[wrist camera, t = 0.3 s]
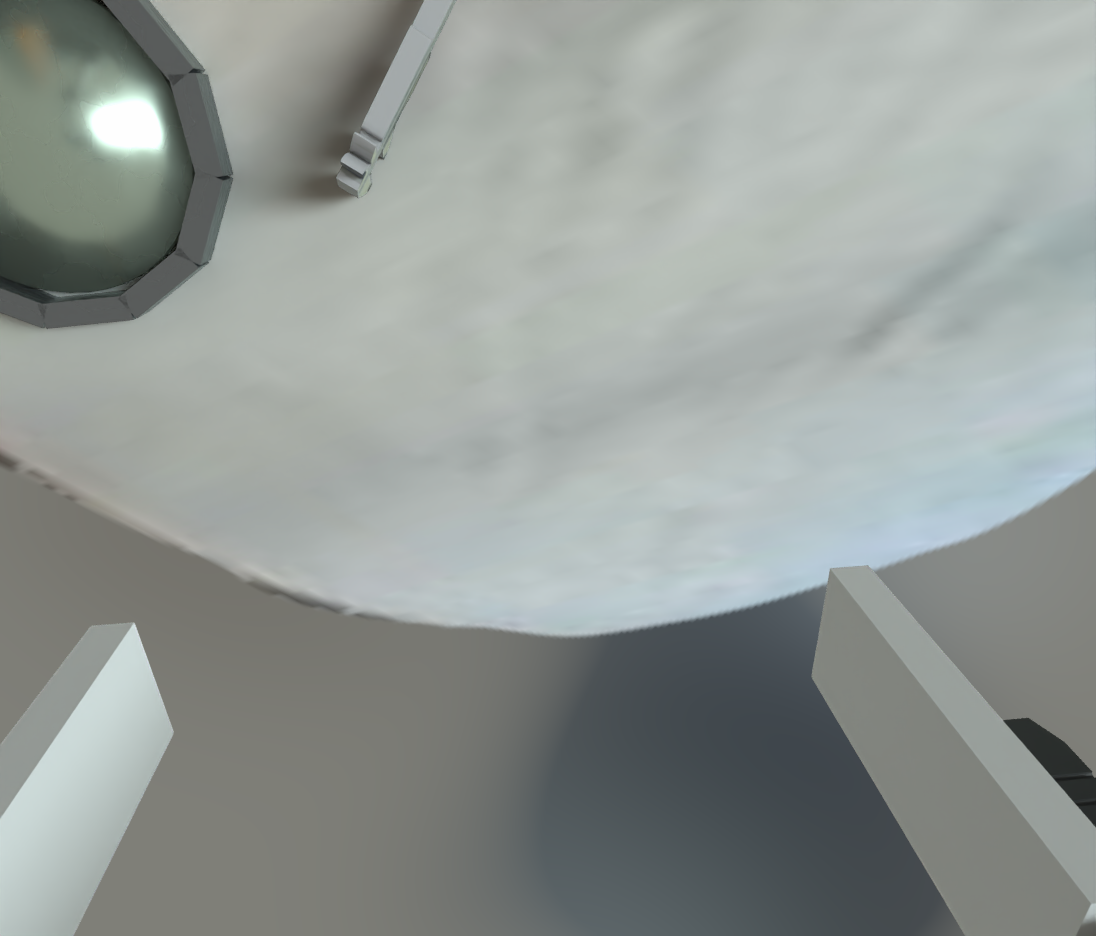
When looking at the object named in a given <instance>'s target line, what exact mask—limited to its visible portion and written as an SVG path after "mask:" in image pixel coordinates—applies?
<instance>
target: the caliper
mask: <svg viewBox="0 0 1096 936" xmlns="http://www.w3.org/2000/svg"><path fill="white" fill-rule="evenodd" d="M455 2H456V0H424V2H423V4H422V6H421V8H420V10H419V12H418V14H417V16H416V18H415V20H414V22H413V24H412V25H410V27H409V29H408V31H407V34H406V36H405V38H404V40H403V42H402V44H401V46H400V48H399V50H398V52H397V54H396V56H395V58H394V60H393V62H392V64H391V66H390V68H389V70H388V72H387V74H386V76H385V78H384V80H383V82H382V85H381V87H380V89H379V91H378V93H377V95H376V97H375V99H374V101H373V103H372V105H371V107H370V109H369V111H368V113H367V115H366V117H365V119H364V121H363V123H362V126H361V131H360V133H359V134H358V133H357V132H354V134H353V137H352V141H351V145H350V153H346V154H345V155H344V156H343V157H342V159H341V161H340V162H341V164H342V167H341V169H340V171H339V173H338V175H337V177H336V180H337V183H338V186H339V187H340V188H342V189H343V190H345V191H347V192H349V193H350V194H352V195H354V196H355V197H357V198H360V197H362V196H364V195H365V194H367V192H368V191H369V189H370V187H371V185H372V179H371V171H372V169H373V167H374V165H375V163H376V161H377V159H378V157H381V158H383V159H384V158H385V156H386V154H387V152H388V150H389V147H390V143H391V140H392V136H393V133H394V129H395V125H396V123H397V121H398V119H399V117H400V115H401V113H402V111H403V109H404V107H405V106H406V104H407V102H408V100H409V98H410V96H411V94H412V92H413V91H414V88H415V86H416V84H417V82H418V80H419V78H420V76H421V74H422V72H423V70H424V68H425V66H426V64H427V62H428V60H429V58H430V54H431V51H432V48H433V46H434V44H435V42H436V40H437V38H438V36H439V34H440V32H441V30H442V28H443V26H444V24H445V22H446V20H447V18H448V16H449V14H450V12H451V10H452V8H453V6H454V4H455Z"/></svg>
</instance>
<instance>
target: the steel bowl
mask: <svg viewBox="0 0 1096 936" xmlns="http://www.w3.org/2000/svg"><path fill="white" fill-rule="evenodd" d="M102 1H103V2H104V3H105V4H106V5H107V7H108V8H109V9H110V10H111V11H112V12H111V11H110V10H108V9H107V8H106V7H104V6H103V5H101V4H100V3H99V2H97V1H96V0H0V312H1V313H3V314H6V315H9V316H12V317H14V318H17V319H20V320H22V321H25V322H28V323H30V324H33V325H36V326H39V327H41V328H44V327H46V328H47V329H48V328H58V327H68V326H78V325H88V324H98V323H108V322H117V321H127V320H134V319H136V318H139V317H140V316H142V315H144V314H145V313H147V312H149V311H150V310H152V309H153V308H154V307H155V306H156V305H158V304H159V303H160V302H161V301H163V300H164V299H165V298H166V297H167V296H169V295H170V294H171V293H172V292H174V291H175V290H176V289H177V288H178V287H180V286H181V285H182V284H183V283H185V282H186V281H187V280H188V279H190V278H191V277H192V276H193V275H194V274H196V273H197V272H198V271H199V270H201V269H202V268H203V267H204V266H205V265H207V264H208V263H209V262H208V261H209V260H211V257H212V254H213V250H214V246H215V243H216V239H217V235H218V232H219V228H220V224H221V221H222V217H223V213H224V210H225V206H226V202H227V199H228V195H229V191H230V188H231V184H232V180H233V178H231V177H229V176H227V175H231V174H233V172H232V168H231V164H230V160H229V156H228V152H227V148H226V144H225V141H224V137H223V133H222V129H221V125H220V121H219V117H218V113H217V109H216V106H215V102H214V98H213V94H212V90H211V86H210V82H209V78H208V75H206V74H202V73H203V72H204V71H205V69H204V68H203V67H202V66H201V64H200V63H199V62H198V61H197V59H196V58H195V57H194V56H193V54H192V53H191V52H190V51H189V50H188V48H187V47H186V46H185V45H184V43H183V42H182V41H181V40H180V38H179V37H178V36H177V35H176V33H175V32H174V31H173V30H172V28H171V27H170V26H169V25H168V23H167V22H166V21H165V20H164V19H163V17H162V16H161V15H160V14H159V12H158V11H157V10H156V9H155V7H154V6H153V5H152V4H151V2H150V1H149V0H102ZM177 241H178V244H177V248H176V250H175V251H174V252H173V253H172V254H171V255H169V256H168V257H167V258H166V259H165V260H163V261H162V262H161V263H160V264H159V265H157V264H158V263H159V262H160V261H161V260H162V259H163V258H164V257H165V256H166V255H167V254H168V253H169V252H170V251H171V249H172V248H173V247H174V245H175V244H176V243H177ZM156 265H157V266H156ZM154 266H156V267H155V268H154V269H152V270H151V271H150V272H149V273H148V274H146V275H145V276H144V277H143V278H142V279H140V280H139V281H138V282H137V283H136V284H134V285H133V286H132V287H131V288H130V289H128V290H126V291H116V292H106V293H95V294H85V295H75V296H65V297H56V296H54V295H51V294H49V293H46V292H43V291H41V290H38V289H36V288H39V289H44V290H49V291H57V292H69V293H74V292H92V291H98V290H104V289H108V288H111V287H115V286H118V285H121V284H124V283H126V282H128V281H130V280H132V279H134V278H136V277H138V276H140V275H142V274H144V273H146V272H147V271H148V270H150V269H151V268H153V267H154ZM33 287H34V288H33Z"/></svg>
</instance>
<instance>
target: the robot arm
mask: <svg viewBox="0 0 1096 936" xmlns="http://www.w3.org/2000/svg"><path fill="white" fill-rule="evenodd" d="M812 679H813V680H814V682H815V684H816V685H817V687H818V689H819V690H820V692H821V694H822V695H823V697H824V699H825V700H826V702H827V704H828V706H829V707H830V709H831V711H832V712H833V714H834V715H835V717H836V719H837V721H838V722H839V724H840V726H841V727H842V729H843V731H844V732H845V734H846V736H847V737H848V739H849V741H850V743H851V744H852V746H853V748H854V749H855V751H856V753H857V754H858V756H859V758H860V759H861V761H862V763H863V764H864V766H865V768H866V769H867V771H868V773H869V775H870V776H871V778H872V780H873V781H874V783H875V785H876V786H877V788H878V790H879V791H880V793H881V795H882V796H883V798H884V800H885V801H886V803H887V804H888V806H889V808H890V810H891V811H892V813H893V815H894V817H895V818H896V820H897V822H898V823H899V825H900V827H901V828H902V830H903V832H904V833H905V835H906V837H907V838H908V840H909V842H910V843H911V845H912V847H913V848H914V850H915V852H916V853H917V855H918V857H919V859H920V860H921V862H922V864H923V865H924V867H925V869H926V870H927V872H928V874H929V875H930V877H931V879H932V880H933V882H934V884H935V885H936V887H937V889H938V891H939V892H940V894H941V896H942V897H943V899H944V901H945V902H946V904H947V906H948V907H949V909H950V911H951V913H952V914H953V916H954V918H955V919H956V921H957V923H958V924H959V926H960V927H961V929H962V931H963V933H964V934H965V936H1096V778H1094V777H1093V775H1092V771H1091V770H1090V769H1089V768H1088V767H1087V766H1086V765H1085V764H1084V762H1082V760H1081V759H1080V758H1079V757H1078V756H1077V755H1076V754H1075V753H1074V752H1073V751H1072V750H1071V749H1070V748H1069V746H1068V745H1067V744H1066V743H1065V742H1063V741H1062V740H1060V739H1059V738H1057V737H1056V736H1055V735H1053V734H1052V733H1050V732H1049V731H1047V730H1046V729H1044V728H1042V727H1041V726H1040V725H1038V724H1037V723H1035V722H1034V721H1032V720H1031V719H1029V718H1022V719H1011V720H1002V719H1001V718H1000V717H999V716H998V714H997V713H996V712H995V711H994V710H993V709H992V707H991V706H990V705H989V704H988V703H987V702H986V701H985V699H984V698H982V696H981V695H980V694H979V693H978V691H977V690H976V689H975V688H974V687H973V686H972V684H971V683H970V682H969V681H968V680H967V679H966V678H965V676H964V675H963V674H962V673H961V672H960V671H959V669H958V668H957V667H956V666H955V665H954V664H953V663H952V662H951V660H950V659H949V658H948V657H947V656H946V654H945V653H944V652H943V651H942V650H941V649H940V648H939V646H938V645H937V644H936V643H935V642H934V641H933V639H932V638H931V637H930V636H929V635H928V634H927V633H926V632H925V630H924V629H923V628H922V627H921V626H920V625H919V623H918V622H917V621H916V620H915V619H914V618H913V616H912V615H911V614H910V613H909V612H908V611H907V610H906V608H905V607H904V606H903V605H902V604H901V603H900V601H899V600H898V599H897V598H896V597H895V596H894V595H893V593H891V591H890V590H889V589H888V588H887V587H886V585H885V584H884V583H883V582H882V581H881V580H880V578H879V577H878V576H877V575H876V574H875V573H874V572H873V570H872V569H871V568H870V567H869V566H855V567H842V568H830V572H829V578H828V584H827V590H826V596H825V601H824V607H823V613H822V619H821V625H820V630H819V637H818V642H817V648H816V654H815V660H814V665H813V671H812ZM173 734H174V732H173V729H172V726H171V723H170V720H169V718H168V715H167V712H166V709H165V707H164V704H163V701H162V698H161V695H160V693H159V690H158V687H157V685H156V682H155V679H154V676H153V674H152V671H151V668H150V665H149V662H148V659H147V657H146V654H145V651H144V648H143V645H142V643H141V640H140V637H139V635H138V632H137V629H136V626H135V623H121V624H110V625H97V626H96V625H95V626H90V628H89V629H88V630H87V632H86V633H85V634H84V636H83V637H82V638H81V640H80V641H79V642H78V644H77V645H76V646H75V647H74V649H73V650H72V651H71V653H70V654H69V655H68V657H67V658H66V659H65V661H64V662H63V663H62V664H61V666H60V667H59V668H58V670H57V671H56V672H55V674H54V675H53V676H52V678H51V679H50V680H49V681H48V683H47V684H46V685H45V687H44V688H43V689H42V691H41V692H40V693H39V695H38V696H37V697H36V698H35V700H34V701H33V702H32V704H31V705H30V706H29V708H28V709H27V710H26V712H25V713H24V714H23V716H22V717H21V718H20V719H19V721H18V722H17V723H16V725H15V726H14V728H13V729H12V730H11V731H10V733H9V734H8V735H7V736H6V738H5V739H4V740H3V742H2V743H1V744H0V936H73V935H74V933H75V931H76V929H77V927H78V925H79V923H80V921H81V919H82V917H83V915H84V913H85V911H86V909H87V907H88V905H89V903H90V901H91V899H92V897H93V895H94V893H95V891H96V889H97V887H98V885H99V883H100V881H101V879H102V877H103V875H104V873H105V871H106V869H107V867H108V865H109V863H110V861H111V859H112V857H113V855H114V853H115V850H116V848H117V846H118V845H119V843H120V840H121V838H122V836H123V834H124V832H125V830H126V828H127V826H128V824H129V822H130V820H131V818H132V816H133V814H134V812H135V810H136V808H137V806H138V804H139V802H140V800H141V798H142V796H143V794H144V792H145V790H146V788H147V786H148V784H149V782H150V780H151V778H152V776H153V774H154V772H155V770H156V768H157V766H158V764H159V762H160V760H161V757H162V756H163V754H164V752H165V750H166V748H167V746H168V744H169V742H170V740H171V738H172V735H173Z"/></svg>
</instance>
